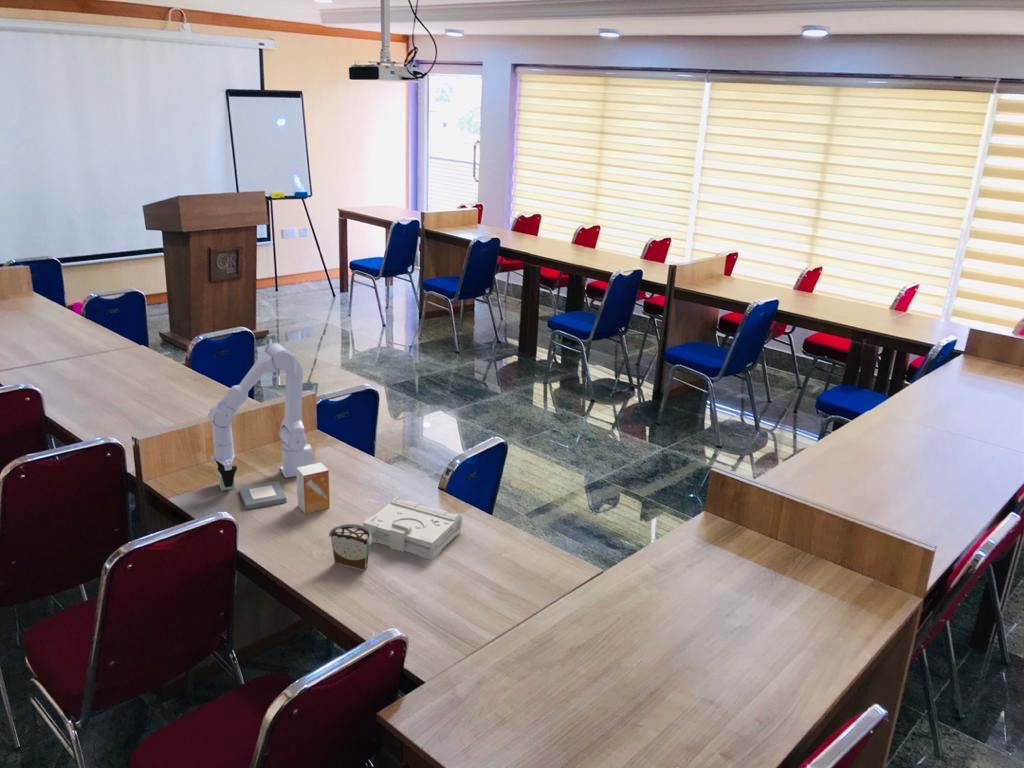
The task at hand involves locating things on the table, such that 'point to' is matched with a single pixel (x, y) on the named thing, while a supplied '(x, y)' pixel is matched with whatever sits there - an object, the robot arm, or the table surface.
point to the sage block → (224, 485)
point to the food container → (351, 545)
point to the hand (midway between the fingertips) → (226, 481)
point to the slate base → (262, 495)
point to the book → (413, 528)
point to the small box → (313, 487)
